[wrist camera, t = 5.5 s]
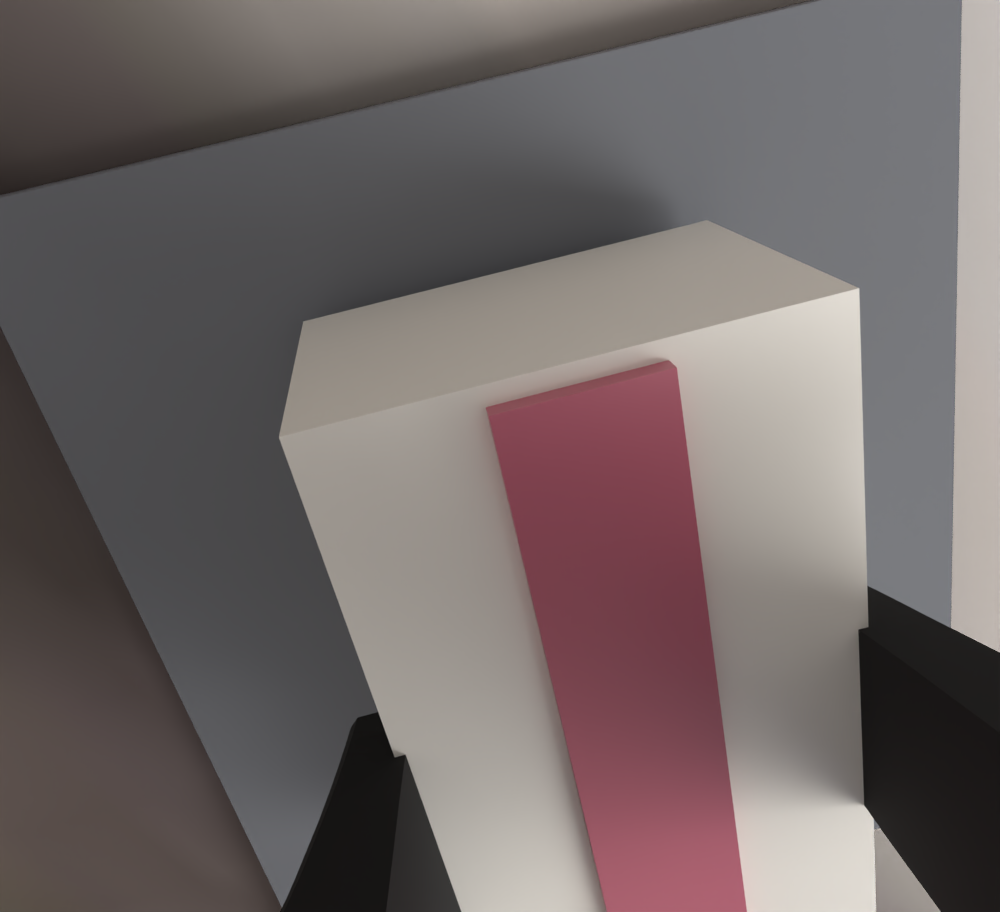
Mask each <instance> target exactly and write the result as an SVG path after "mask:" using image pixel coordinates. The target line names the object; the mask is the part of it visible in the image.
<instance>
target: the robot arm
mask: <svg viewBox="0 0 1000 912" xmlns="http://www.w3.org/2000/svg"><path fill="white" fill-rule="evenodd" d="M867 591H868V627H866V628H863V629H859V630H858V635H859V665H860V696H861V727H862V757H863V788H864V806H865V807H866V809H867V810H868V811H869V813H870V814H871V816H872V817H873V818H874V820H875V821H876V823H877V824H878V825H879V827H880V828H881V830H882V831H883V832H884V834H885V835H886V837H887V838H888V839H889V841H890V842H891V844H892V845H893V846H894V848H895V849H896V850H897V852H898V853H899V855H900V856H901V857H902V859H903V860H904V862H905V863H906V864H907V866H908V867H909V868H910V870H911V871H912V873H913V874H914V875H915V877H916V878H917V879H918V881H919V882H920V883H921V885H922V886H923V888H924V889H925V890H926V892H927V893H928V894H929V896H930V897H931V899H932V900H933V901H934V903H935V904H936V905H937V907H938V908H939V909H940V911H941V912H1000V653H999V652H997V651H995V650H993V649H991V648H989V647H987V646H985V645H983V644H981V643H979V642H977V641H975V640H973V639H971V638H969V637H967V636H965V635H963V634H961V633H960V632H958V631H956V630H954V629H952V628H950V627H948V626H946V625H944V624H942V623H940V622H938V621H936V620H934V619H932V618H930V617H928V616H926V615H924V614H922V613H920V612H919V611H917V610H915V609H913V608H911V607H909V606H907V605H905V604H903V603H901V602H899V601H897V600H895V599H893V598H891V597H889V596H887V595H885V594H883V593H881V592H879V591H877V590H875V589H873V588H871V587H869V586H867ZM280 912H461V909H460V906H459V904H458V901H457V898H456V895H455V892H454V890H453V887H452V884H451V881H450V878H449V876H448V873H447V870H446V867H445V864H444V861H443V859H442V856H441V853H440V850H439V847H438V845H437V842H436V839H435V836H434V833H433V830H432V828H431V825H430V822H429V819H428V816H427V814H426V811H425V808H424V805H423V802H422V799H421V797H420V794H419V791H418V788H417V785H416V783H415V780H414V777H413V774H412V771H411V768H410V766H409V763H408V760H407V757H406V755H402V756H398V757H394V754H393V751H392V749H391V746H390V743H389V740H388V738H387V735H386V732H385V729H384V727H383V724H382V721H381V718H380V716H379V713H378V712H376V713H372V714H369V715H365V716H361V717H358V718H357V719H356V721H355V722H354V723H353V725H352V726H351V728H350V732H349V735H348V738H347V742H346V745H345V748H344V751H343V754H342V757H341V760H340V763H339V766H338V769H337V772H336V775H335V778H334V781H333V783H332V786H331V789H330V792H329V794H328V797H327V800H326V803H325V805H324V808H323V811H322V813H321V816H320V819H319V821H318V824H317V826H316V829H315V831H314V834H313V836H312V839H311V841H310V843H309V846H308V848H307V851H306V853H305V856H304V858H303V861H302V863H301V865H300V868H299V870H298V873H297V875H296V878H295V880H294V882H293V885H292V887H291V889H290V892H289V894H288V896H287V898H286V900H285V903H284V905H283V907H282V909H281V911H280Z"/></svg>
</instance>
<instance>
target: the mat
mask: <svg viewBox="0 0 1000 912" xmlns="http://www.w3.org/2000/svg"><path fill="white" fill-rule="evenodd" d="M961 9H962V0H811V1H807V2H803V3H798V4H794V5H790V6H786V7H782V8H778V9H773V10H769V11H765V12H761V13H757V14H753V15H749V16H744V17H740V18H736V19H732V20H728V21H724V22H719V23H715V24H711V25H707V26H703V27H699V28H694V29H690V30H686V31H682V32H678V33H674V34H669V35H665V36H661V37H657V38H653V39H649V40H644V41H640V42H636V43H632V44H628V45H624V46H619V47H615V48H611V49H607V50H603V51H599V52H595V53H590V54H586V55H582V56H578V57H574V58H570V59H565V60H561V61H557V62H553V63H549V64H545V65H540V66H536V67H532V68H528V69H524V70H520V71H515V72H511V73H507V74H503V75H499V76H495V77H490V78H486V79H482V80H478V81H474V82H470V83H465V84H461V85H457V86H453V87H449V88H445V89H441V90H436V91H432V92H428V93H424V94H420V95H416V96H411V97H407V98H403V99H399V100H395V101H391V102H386V103H382V104H378V105H374V106H370V107H366V108H361V109H357V110H353V111H349V112H345V113H341V114H336V115H332V116H328V117H324V118H320V119H316V120H311V121H307V122H303V123H299V124H295V125H291V126H287V127H282V128H278V129H274V130H270V131H266V132H262V133H257V134H253V135H249V136H245V137H241V138H237V139H232V140H228V141H224V142H220V143H216V144H212V145H207V146H203V147H199V148H195V149H191V150H187V151H182V152H178V153H174V154H170V155H166V156H162V157H157V158H153V159H149V160H145V161H141V162H137V163H133V164H128V165H124V166H120V167H116V168H112V169H108V170H103V171H99V172H95V173H91V174H87V175H83V176H78V177H74V178H70V179H66V180H62V181H58V182H53V183H49V184H45V185H41V186H37V187H33V188H28V189H24V190H20V191H16V192H12V193H8V194H3V195H0V327H1V329H2V331H3V333H4V335H5V337H6V339H7V341H8V343H9V346H10V348H11V350H12V352H13V354H14V356H15V358H16V360H17V362H18V364H19V366H20V368H21V370H22V372H23V374H24V376H25V379H26V381H27V383H28V385H29V387H30V389H31V391H32V393H33V395H34V397H35V399H36V401H37V403H38V405H39V407H40V410H41V412H42V414H43V416H44V418H45V420H46V422H47V424H48V426H49V428H50V430H51V432H52V434H53V436H54V438H55V440H56V443H57V445H58V447H59V449H60V451H61V453H62V455H63V457H64V459H65V461H66V463H67V465H68V467H69V469H70V471H71V473H72V476H73V478H74V480H75V482H76V484H77V486H78V488H79V490H80V492H81V494H82V496H83V498H84V500H85V502H86V504H87V506H88V509H89V511H90V513H91V515H92V517H93V519H94V521H95V523H96V525H97V527H98V529H99V531H100V533H101V535H102V537H103V540H104V542H105V544H106V546H107V548H108V550H109V552H110V554H111V556H112V558H113V560H114V562H115V564H116V566H117V568H118V570H119V573H120V575H121V577H122V579H123V581H124V583H125V585H126V587H127V589H128V591H129V593H130V595H131V597H132V599H133V601H134V603H135V606H136V608H137V610H138V612H139V614H140V616H141V618H142V620H143V622H144V624H145V626H146V628H147V630H148V632H149V634H150V636H151V639H152V641H153V643H154V645H155V647H156V649H157V651H158V653H159V655H160V657H161V659H162V661H163V663H164V665H165V667H166V670H167V672H168V674H169V676H170V678H171V680H172V682H173V684H174V686H175V688H176V690H177V692H178V694H179V696H180V698H181V700H182V703H183V705H184V707H185V709H186V711H187V713H188V715H189V717H190V719H191V721H192V723H193V725H194V727H195V729H196V731H197V733H198V736H199V738H200V740H201V742H202V744H203V746H204V748H205V750H206V752H207V754H208V756H209V758H210V760H211V762H212V764H213V766H214V769H215V771H216V773H217V775H218V777H219V779H220V781H221V783H222V785H223V787H224V789H225V791H226V793H227V795H228V797H229V800H230V802H231V804H232V806H233V808H234V810H235V812H236V814H237V816H238V818H239V820H240V822H241V824H242V826H243V828H244V830H245V833H246V835H247V837H248V839H249V841H250V843H251V845H252V847H253V849H254V851H255V853H256V855H257V857H258V859H259V861H260V863H261V866H262V868H263V870H264V872H265V874H266V876H267V878H268V880H269V882H270V884H271V886H272V888H273V890H274V892H275V894H276V896H277V899H278V901H279V903H280V905H281V907H283V905H284V903H285V900H286V898H287V896H288V894H289V892H290V889H291V887H292V885H293V882H294V880H295V878H296V875H297V873H298V870H299V868H300V865H301V863H302V861H303V858H304V856H305V853H306V851H307V848H308V846H309V843H310V841H311V839H312V836H313V834H314V831H315V829H316V826H317V824H318V821H319V819H320V816H321V813H322V811H323V808H324V805H325V803H326V800H327V797H328V794H329V792H330V789H331V786H332V783H333V781H334V778H335V775H336V772H337V769H338V766H339V763H340V760H341V757H342V754H343V751H344V748H345V745H346V742H347V738H348V735H349V732H350V728H351V726H352V725H353V723H354V722H355V721H356V719H357V718H358V717H361V716H365V715H369V714H372V713H376V712H378V710H377V707H376V704H375V702H374V699H373V696H372V693H371V691H370V688H369V685H368V682H367V680H366V677H365V674H364V671H363V669H362V666H361V663H360V660H359V657H358V655H357V652H356V649H355V646H354V644H353V641H352V638H351V635H350V633H349V630H348V627H347V624H346V622H345V619H344V616H343V613H342V611H341V608H340V605H339V602H338V599H337V597H336V594H335V591H334V588H333V586H332V583H331V580H330V577H329V575H328V572H327V569H326V566H325V564H324V561H323V558H322V555H321V552H320V550H319V547H318V544H317V541H316V539H315V536H314V533H313V530H312V528H311V525H310V522H309V519H308V517H307V514H306V511H305V508H304V506H303V503H302V500H301V497H300V494H299V492H298V489H297V486H296V483H295V481H294V478H293V475H292V472H291V470H290V467H289V464H288V461H287V459H286V456H285V453H284V450H283V447H282V445H281V442H280V439H279V434H280V429H281V424H282V420H283V415H284V410H285V406H286V401H287V396H288V391H289V387H290V382H291V377H292V372H293V368H294V363H295V358H296V353H297V349H298V344H299V339H300V335H301V330H302V325H303V321H307V320H311V319H315V318H319V317H323V316H327V315H331V314H335V313H339V312H343V311H347V310H351V309H355V308H359V307H363V306H367V305H371V304H375V303H379V302H383V301H387V300H391V299H395V298H399V297H403V296H407V295H411V294H415V293H419V292H423V291H427V290H431V289H435V288H439V287H443V286H447V285H451V284H455V283H459V282H463V281H467V280H471V279H475V278H478V277H482V276H486V275H490V274H494V273H498V272H502V271H506V270H510V269H514V268H518V267H522V266H526V265H530V264H534V263H538V262H542V261H546V260H550V259H554V258H558V257H562V256H566V255H570V254H574V253H578V252H582V251H586V250H590V249H594V248H598V247H602V246H606V245H610V244H614V243H618V242H622V241H626V240H630V239H634V238H638V237H642V236H646V235H650V234H654V233H658V232H662V231H666V230H670V229H674V228H678V227H682V226H686V225H690V224H694V223H698V222H702V221H706V220H708V221H710V222H712V223H715V224H717V225H719V226H721V227H724V228H726V229H728V230H730V231H733V232H735V233H737V234H739V235H741V236H744V237H746V238H748V239H750V240H753V241H755V242H757V243H759V244H762V245H764V246H766V247H768V248H771V249H773V250H775V251H777V252H779V253H782V254H784V255H786V256H788V257H791V258H793V259H795V260H797V261H800V262H802V263H804V264H806V265H809V266H811V267H813V268H815V269H817V270H820V271H822V272H824V273H826V274H829V275H831V276H833V277H835V278H838V279H840V280H842V281H844V282H847V283H849V284H851V285H853V286H855V287H858V288H859V297H860V334H861V371H862V407H863V444H864V481H865V518H866V555H867V586H869V587H871V588H873V589H875V590H877V591H879V592H881V593H883V594H885V595H887V596H889V597H891V598H893V599H895V600H897V601H899V602H901V603H903V604H905V605H907V606H909V607H911V608H913V609H915V610H917V611H919V612H920V613H922V614H924V615H926V616H928V617H930V618H932V619H934V620H936V621H938V622H940V623H942V624H944V625H946V626H948V627H950V628H951V589H952V531H953V473H954V415H955V357H956V299H957V241H958V183H959V125H960V67H961ZM877 828H880V827H879V825H878V824H877V823H876V821H875V820H874V829H877Z"/></svg>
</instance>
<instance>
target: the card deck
mask: <svg viewBox="0 0 1000 912" xmlns="http://www.w3.org/2000/svg"><path fill="white" fill-rule="evenodd" d="M279 439H280V442H281V445H282V447H283V450H284V453H285V456H286V459H287V461H288V464H289V467H290V470H291V472H292V475H293V478H294V481H295V483H296V486H297V489H298V492H299V494H300V497H301V500H302V503H303V506H304V508H305V511H306V514H307V517H308V519H309V522H310V525H311V528H312V530H313V533H314V536H315V539H316V541H317V544H318V547H319V550H320V552H321V555H322V558H323V561H324V564H325V566H326V569H327V572H328V575H329V577H330V580H331V583H332V586H333V588H334V591H335V594H336V597H337V599H338V602H339V605H340V608H341V611H342V613H343V616H344V619H345V622H346V624H347V627H348V630H349V633H350V635H351V638H352V641H353V644H354V646H355V649H356V652H357V655H358V657H359V660H360V663H361V666H362V669H363V671H364V674H365V677H366V680H367V682H368V685H369V688H370V691H371V693H372V696H373V699H374V702H375V704H376V707H377V710H378V713H379V716H380V718H381V721H382V724H383V727H384V729H385V732H386V735H387V738H388V740H389V743H390V746H391V749H392V751H393V754H394V757H398V756H402V755H406V757H407V760H408V763H409V766H410V768H411V771H412V774H413V777H414V780H415V783H416V785H417V788H418V791H419V794H420V797H421V799H422V802H423V805H424V808H425V811H426V814H427V816H428V819H429V822H430V825H431V828H432V830H433V833H434V836H435V839H436V842H437V845H438V847H439V850H440V853H441V856H442V859H443V861H444V864H445V867H446V870H447V873H448V876H449V878H450V881H451V884H452V887H453V890H454V892H455V895H456V898H457V901H458V904H459V906H460V909H461V912H876V886H875V849H874V818H873V817H872V816H871V814H870V813H869V811H868V810H867V809H866V807H865V806H864V788H863V757H862V727H861V696H860V665H859V635H858V630H859V629H863V628H866V627H868V591H867V555H866V518H865V481H864V444H863V407H862V371H861V334H860V297H859V288H858V287H855V286H853V285H851V284H849V283H847V282H844V281H842V280H840V279H838V278H835V277H833V276H831V275H829V274H826V273H824V272H822V271H820V270H817V269H815V268H813V267H811V266H809V265H806V264H804V263H802V262H800V261H797V260H795V259H793V258H791V257H788V256H786V255H784V254H782V253H779V252H777V251H775V250H773V249H771V248H768V247H766V246H764V245H762V244H759V243H757V242H755V241H753V240H750V239H748V238H746V237H744V236H741V235H739V234H737V233H735V232H733V231H730V230H728V229H726V228H724V227H721V226H719V225H717V224H715V223H712V222H710V221H708V220H706V221H702V222H698V223H694V224H690V225H686V226H682V227H678V228H674V229H670V230H666V231H662V232H658V233H654V234H650V235H646V236H642V237H638V238H634V239H630V240H626V241H622V242H618V243H614V244H610V245H606V246H602V247H598V248H594V249H590V250H586V251H582V252H578V253H574V254H570V255H566V256H562V257H558V258H554V259H550V260H546V261H542V262H538V263H534V264H530V265H526V266H522V267H518V268H514V269H510V270H506V271H502V272H498V273H494V274H490V275H486V276H482V277H478V278H475V279H471V280H467V281H463V282H459V283H455V284H451V285H447V286H443V287H439V288H435V289H431V290H427V291H423V292H419V293H415V294H411V295H407V296H403V297H399V298H395V299H391V300H387V301H383V302H379V303H375V304H371V305H367V306H363V307H359V308H355V309H351V310H347V311H343V312H339V313H335V314H331V315H327V316H323V317H319V318H315V319H311V320H307V321H303V325H302V330H301V335H300V339H299V344H298V349H297V353H296V358H295V363H294V368H293V372H292V377H291V382H290V387H289V391H288V396H287V401H286V406H285V410H284V415H283V420H282V424H281V429H280V434H279Z"/></svg>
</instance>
